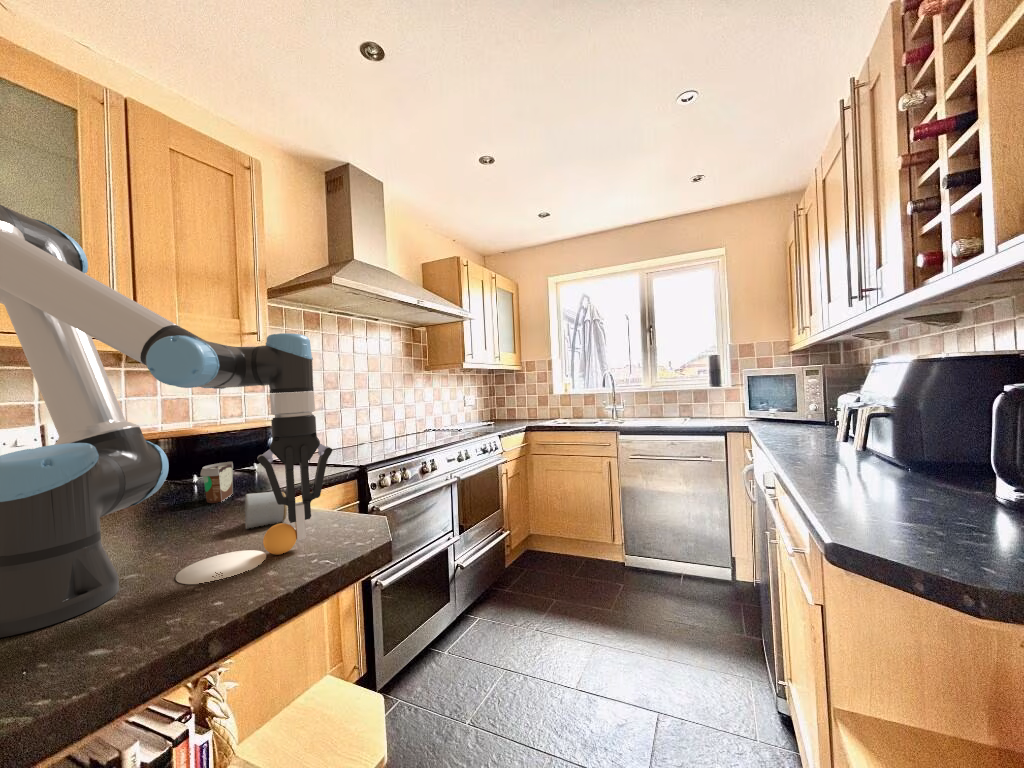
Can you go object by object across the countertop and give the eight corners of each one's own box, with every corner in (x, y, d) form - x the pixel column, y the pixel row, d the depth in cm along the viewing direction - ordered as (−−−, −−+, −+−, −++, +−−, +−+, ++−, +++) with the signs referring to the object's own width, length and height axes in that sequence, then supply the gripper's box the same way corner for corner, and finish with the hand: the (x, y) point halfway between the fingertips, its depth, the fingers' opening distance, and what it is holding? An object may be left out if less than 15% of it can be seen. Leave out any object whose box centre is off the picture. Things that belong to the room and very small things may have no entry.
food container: (211, 496, 126) (209, 463, 126) (234, 493, 128) (233, 461, 128) (193, 506, 115) (192, 470, 115) (219, 503, 117) (217, 468, 117)
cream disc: (170, 592, 64) (170, 591, 64) (180, 564, 74) (180, 563, 74) (267, 568, 71) (267, 567, 71) (264, 545, 82) (264, 544, 82)
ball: (296, 557, 76) (261, 560, 73) (293, 547, 81) (260, 549, 78) (300, 527, 77) (266, 529, 74) (297, 518, 81) (264, 520, 78)
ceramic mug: (288, 524, 95) (287, 490, 95) (246, 533, 90) (244, 497, 90) (282, 514, 103) (281, 484, 103) (243, 522, 99) (242, 490, 99)
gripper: (326, 411, 86) (333, 524, 86) (253, 417, 79) (260, 540, 79) (333, 412, 80) (340, 534, 80) (254, 419, 73) (262, 552, 73)
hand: (300, 537), depth 79 cm, fingers closed
